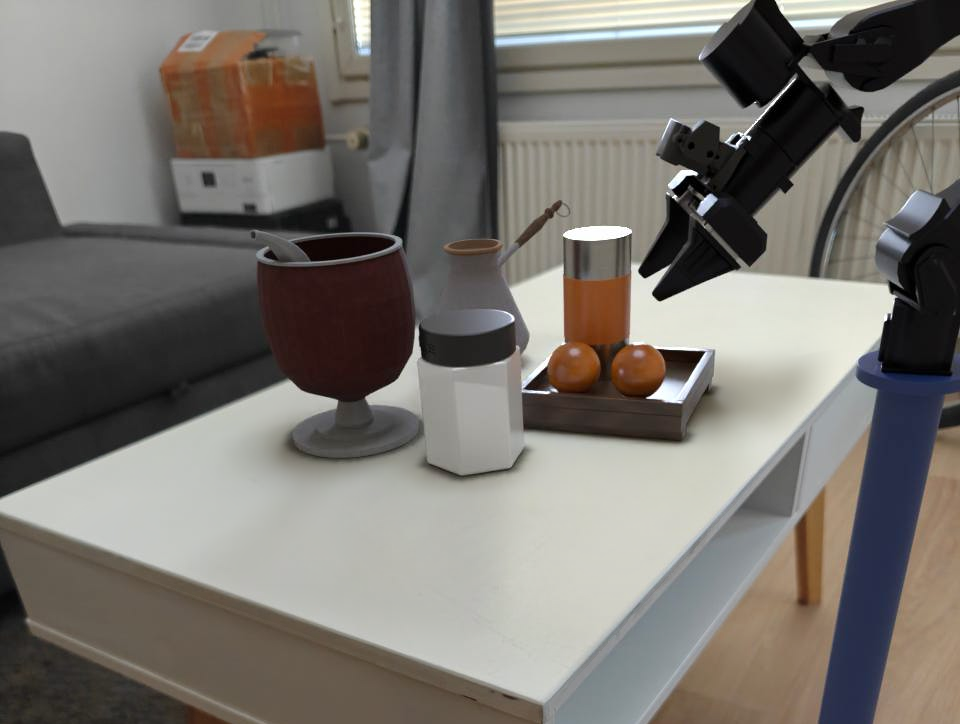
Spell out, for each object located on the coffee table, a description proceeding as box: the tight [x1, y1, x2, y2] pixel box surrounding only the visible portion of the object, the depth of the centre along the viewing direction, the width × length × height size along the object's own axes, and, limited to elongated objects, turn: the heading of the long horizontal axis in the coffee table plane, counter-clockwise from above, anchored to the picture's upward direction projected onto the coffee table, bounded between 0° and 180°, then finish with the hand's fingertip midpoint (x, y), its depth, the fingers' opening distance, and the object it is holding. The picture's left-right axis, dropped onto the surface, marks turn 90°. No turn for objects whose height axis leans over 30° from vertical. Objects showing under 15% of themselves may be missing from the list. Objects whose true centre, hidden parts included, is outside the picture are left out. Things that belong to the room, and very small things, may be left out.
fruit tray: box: [521, 341, 716, 441], centre depth 89 cm, size 16×16×8 cm
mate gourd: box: [249, 229, 420, 459], centre depth 84 cm, size 16×14×20 cm
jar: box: [416, 309, 525, 477], centre depth 80 cm, size 9×8×12 cm
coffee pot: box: [436, 199, 571, 356], centre depth 105 cm, size 21×12×15 cm, turn 137°
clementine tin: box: [562, 225, 633, 380], centre depth 90 cm, size 6×6×13 cm
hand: (647, 286), depth 89 cm, fingers open, 9 cm apart
